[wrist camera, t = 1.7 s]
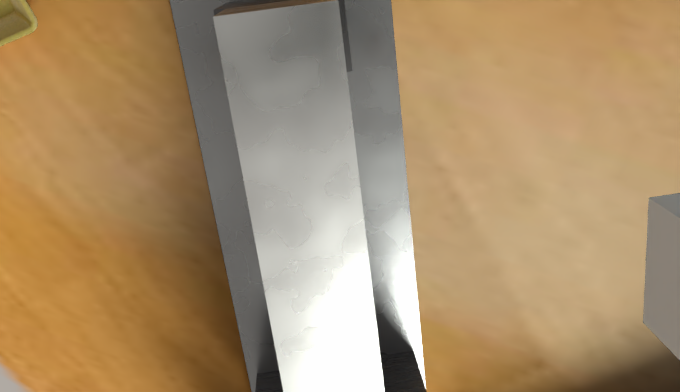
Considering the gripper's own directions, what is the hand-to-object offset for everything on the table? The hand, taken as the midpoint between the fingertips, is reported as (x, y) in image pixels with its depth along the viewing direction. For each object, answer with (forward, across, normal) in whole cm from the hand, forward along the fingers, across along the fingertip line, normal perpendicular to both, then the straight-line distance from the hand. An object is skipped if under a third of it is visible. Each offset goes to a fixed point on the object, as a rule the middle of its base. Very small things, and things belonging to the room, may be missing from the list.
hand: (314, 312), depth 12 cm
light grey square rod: (+14, 0, -8) cm, 16 cm away
